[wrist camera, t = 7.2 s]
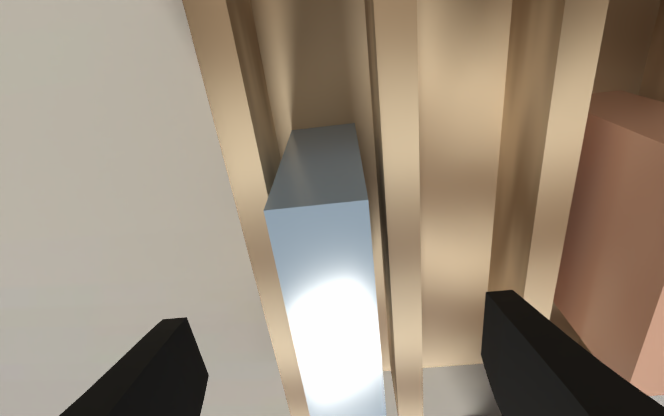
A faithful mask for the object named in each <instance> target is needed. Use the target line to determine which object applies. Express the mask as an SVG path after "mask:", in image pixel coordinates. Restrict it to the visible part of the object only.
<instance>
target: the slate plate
mask: <svg viewBox="0 0 664 416" xmlns="http://www.w3.org/2000/svg"><path fill="white" fill-rule="evenodd" d="M263 211H264V215H265V220H266V224H267V229H268V233H269V237H270V242H271V246H272V251H273V255H274V259H275V264H276V268H277V273H278V277H279V282H280V286H281V290H282V295H283V299H284V304H285V308H286V312H287V317H288V321H289V326H290V330H291V335H292V339H293V343H294V348H295V352H296V357H297V361H298V366H299V370H300V374H301V379H302V383H303V388H304V392H305V396H306V401H307V405H308V410H309V414H310V416H386V405H385V393H384V381H383V369H382V357H381V345H380V333H379V321H378V310H377V298H376V286H375V274H374V262H373V250H372V238H371V226H370V214H369V202H368V195H367V190H366V184H365V178H364V173H363V167H362V161H361V156H360V150H359V144H358V139H357V133H356V127H355V123H350V124H341V125H332V126H324V127H315V128H306V129H298V130H292V131H291V134H290V136H289V139H288V142H287V145H286V148H285V151H284V154H283V156H282V159H281V162H280V165H279V168H278V171H277V173H276V176H275V179H274V182H273V185H272V188H271V191H270V193H269V196H268V199H267V202H266V205H265V208H264V210H263Z"/></svg>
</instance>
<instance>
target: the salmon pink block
mask: <svg viewBox="0 0 664 416" xmlns="http://www.w3.org/2000/svg"><path fill="white" fill-rule="evenodd" d="M553 302H554V303H555V305H556V306H557V307H558V309H559V310H560V311H561V313H562V314H563V315H564V317H565V318H566V319H567V321H568V322H569V323H570V325H571V326H572V328H573V329H574V330H575V332H576V333H577V334H578V336H579V337H580V338H581V340H582V341H583V342H584V344H585V345H586V346H587V348H588V349H589V350H590V352H591V353H592V354H593V356H595V357H596V358H597V359H598V360H600V361H601V362H602V363H604V364H605V365H606V366H608V367H609V368H610V369H612V370H613V371H614V372H616V373H617V374H618V375H620V376H621V377H622V378H624V379H625V380H627V381H628V382H629V383H631V384H632V385H634V386H635V387H636V388H638V389H639V390H641V391H642V392H643V393H645V394H646V395H648V396H655V395H664V102H660V101H657V100H653V99H650V98H646V97H643V96H639V95H636V94H632V93H629V92H625V91H622V90H619V91H610V92H601V93H593V94H592V95H591V100H590V106H589V111H588V117H587V122H586V127H585V133H584V138H583V143H582V149H581V154H580V159H579V165H578V170H577V176H576V181H575V186H574V192H573V197H572V202H571V208H570V213H569V218H568V224H567V229H566V234H565V240H564V245H563V251H562V256H561V261H560V267H559V272H558V277H557V283H556V288H555V293H554V299H553Z"/></svg>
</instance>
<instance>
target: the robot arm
mask: <svg viewBox="0 0 664 416" xmlns="http://www.w3.org/2000/svg"><path fill="white" fill-rule="evenodd" d="M481 357H482V360H483V364H484V367H485V370H486V373H487V376H488V379H489V382H490V385H491V388H492V391H493V394H494V397H495V400H496V402H497V404H498V407H499V409H500V411H501V413H502V416H664V407H663V406H662V405H660V404H659V403H657V402H656V401H655V400H653V399H652V398H650V397H649V396H648V395H646V394H645V393H643V392H642V391H641V390H639V389H638V388H636V387H635V386H634V385H632V384H631V383H629V382H628V381H627V380H625V379H624V378H622V377H621V376H620V375H618V374H617V373H616V372H614V371H613V370H612V369H610V368H609V367H608V366H606V365H605V364H604V363H602V362H601V361H600V360H598V359H597V358H596V357H595V356H593V355H592V354H591V353H589V352H588V351H587V350H586V349H584V348H583V347H582V346H581V345H579V344H578V343H577V342H575V341H574V340H573V339H572V338H570V337H569V336H568V335H567V334H566V333H564V332H563V331H562V330H561V329H559V328H558V327H557V326H556V325H555V324H553V323H552V322H551V321H550V320H548V319H547V318H546V317H545V316H544V315H542V314H541V313H540V312H539V311H538V310H536V309H535V308H534V307H533V306H532V305H530V304H529V303H528V302H527V301H526V300H524V299H523V298H522V297H521V296H520V295H518V294H517V293H516V292H515V291H514V290H503V291H491V292H486V295H485V308H484V320H483V333H482V346H481ZM208 376H209V375H208V372H207V370H206V367H205V364H204V362H203V359H202V356H201V354H200V351H199V349H198V346H197V343H196V341H195V338H194V335H193V333H192V330H191V328H190V325H189V322H188V320H187V317H186V318H174V319H163V320H162V321H161V322H159V323H158V324H157V325H156V326H155V327H154V328H153V329H152V330H150V331H149V332H148V333H147V334H146V335H145V336H144V337H143V338H142V339H141V340H140V341H139V342H138V343H137V344H136V345H135V346H134V347H133V348H132V349H130V350H129V351H128V352H127V353H126V354H125V355H124V356H123V357H122V358H121V359H120V360H119V361H118V362H117V363H116V364H115V365H114V366H113V367H112V368H111V369H110V370H108V371H107V372H106V373H105V374H104V375H103V376H102V377H101V378H100V379H99V380H98V381H97V382H96V383H95V384H94V385H93V386H92V387H90V388H89V389H88V390H87V391H86V392H85V393H84V394H83V395H82V396H81V397H80V398H79V399H77V400H76V401H75V402H74V403H73V404H72V405H71V406H69V407H68V408H67V409H66V410H65V411H64V412H63V413H62V414H60V415H59V416H200V413H201V409H202V405H203V400H204V396H205V391H206V386H207V381H208Z"/></svg>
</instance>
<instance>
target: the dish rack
mask: <svg viewBox="0 0 664 416" xmlns="http://www.w3.org/2000/svg"><path fill="white" fill-rule="evenodd" d="M182 1H183V5H184V9H185V13H186V16H187V20H188V24H189V28H190V32H191V36H192V39H193V43H194V47H195V51H196V55H197V59H198V62H199V66H200V70H201V74H202V78H203V82H204V85H205V89H206V93H207V97H208V101H209V104H210V108H211V112H212V116H213V120H214V124H215V127H216V131H217V135H218V139H219V143H220V147H221V150H222V154H223V158H224V162H225V166H226V169H227V173H228V177H229V181H230V185H231V189H232V192H233V196H234V200H235V204H236V208H237V212H238V215H239V219H240V223H241V227H242V231H243V235H244V238H245V242H246V246H247V250H248V254H249V257H250V261H251V265H252V269H253V273H254V277H255V280H256V284H257V288H258V292H259V296H260V300H261V303H262V307H263V311H264V315H265V319H266V322H267V326H268V330H269V334H270V338H271V342H272V345H273V349H274V353H275V357H276V361H277V365H278V368H279V372H280V376H281V380H282V384H283V388H284V391H285V395H286V399H287V403H288V407H289V410H290V414H291V416H310V414H309V410H308V405H307V401H306V396H305V392H304V388H303V383H302V379H301V374H300V370H299V366H298V361H297V357H296V352H295V348H294V343H293V339H292V335H291V330H290V326H289V321H288V317H287V312H286V308H285V304H284V299H283V295H282V290H281V286H280V282H279V277H278V273H277V268H276V264H275V259H274V255H273V251H272V246H271V242H270V237H269V233H268V229H267V224H266V220H265V215H264V211H263V210H264V208H265V205H266V202H267V199H268V196H269V193H270V191H271V188H272V185H273V182H274V179H275V176H276V173H277V171H278V168H279V165H280V162H281V159H282V156H283V154H284V151H285V148H286V145H287V142H288V139H289V136H290V134H291V131H292V130H298V129H306V128H315V127H324V126H332V125H341V124H350V123H355V127H356V133H357V139H358V144H359V150H360V156H361V161H362V167H363V173H364V178H365V184H366V190H367V195H368V202H369V214H370V226H371V238H372V250H373V262H374V274H375V286H376V298H377V310H378V321H379V333H380V345H381V357H382V369H383V371H391V374H392V380H393V387H394V393H395V400H396V406H397V412H398V416H423V368H430V367H443V366H456V365H469V364H483V360H482V357H481V346H482V333H483V320H484V308H485V295H486V292H491V291H503V290H514V291H515V292H516V293H517V294H518V295H520V296H521V297H522V298H523V299H524V300H526V301H527V302H528V303H529V304H530V305H532V306H533V307H534V308H535V309H536V310H538V311H539V312H540V313H541V314H542V315H544V316H545V317H546V318H547V319H548V320H550V321H551V322H552V323H553V324H555V325H556V326H557V327H558V328H559V329H561V330H562V331H563V332H564V333H566V334H567V335H568V336H569V337H570V338H572V339H573V340H574V341H575V342H577V343H578V344H579V345H581V346H582V347H583V348H584V349H586V350H587V351H588V352H589V353H591V352H590V350H589V349H588V348H587V346H586V345H585V344H584V342H583V341H582V340H581V338H580V337H579V336H578V334H577V333H576V332H575V330H574V329H573V328H572V326H571V325H570V323H569V322H568V321H567V319H566V318H565V317H564V315H563V314H562V313H561V311H560V310H559V309H558V307H557V306H556V305H555V303H554V302H553V299H554V293H555V288H556V283H557V277H558V272H559V267H560V261H561V256H562V251H563V245H564V240H565V234H566V229H567V224H568V218H569V213H570V208H571V202H572V197H573V192H574V186H575V181H576V176H577V170H578V165H579V159H580V154H581V149H582V143H583V138H584V133H585V127H586V122H587V117H588V111H589V106H590V100H591V95H592V94H593V93H601V92H610V91H619V90H622V91H625V92H629V93H632V94H636V95H639V96H643V97H646V98H650V99H653V100H657V101H660V102H664V0H182ZM591 354H592V353H591ZM592 355H593V354H592Z"/></svg>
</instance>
